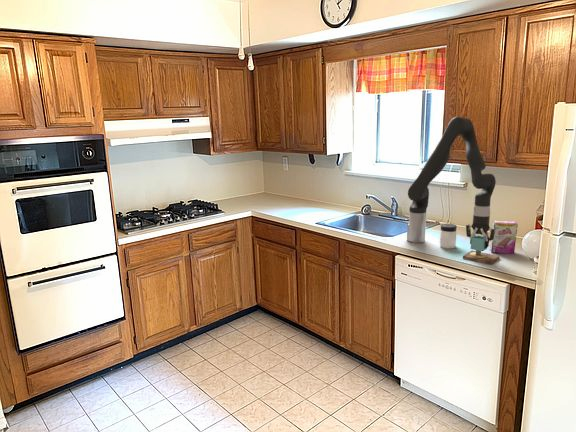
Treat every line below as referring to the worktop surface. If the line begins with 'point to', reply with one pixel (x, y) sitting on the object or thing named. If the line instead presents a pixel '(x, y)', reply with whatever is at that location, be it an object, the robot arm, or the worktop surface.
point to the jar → (448, 236)
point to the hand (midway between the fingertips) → (479, 246)
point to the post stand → (481, 257)
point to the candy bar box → (504, 237)
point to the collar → (478, 243)
